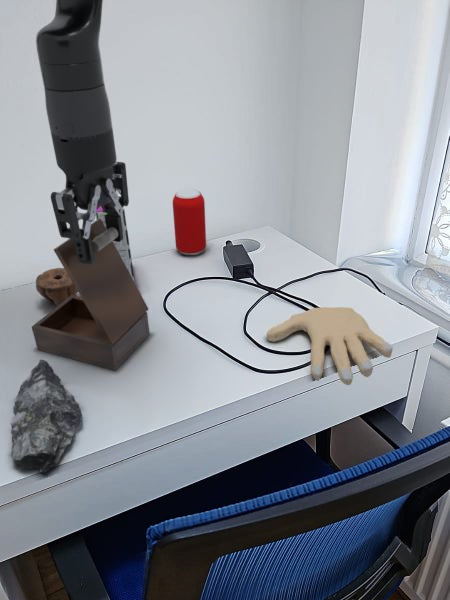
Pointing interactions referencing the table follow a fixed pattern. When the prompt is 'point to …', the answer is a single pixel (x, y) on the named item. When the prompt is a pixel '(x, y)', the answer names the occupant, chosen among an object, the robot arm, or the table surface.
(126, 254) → the candy bar box
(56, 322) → the brown wooden box
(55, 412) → the rock
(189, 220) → the beverage can
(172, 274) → the table surface
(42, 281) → the artifact
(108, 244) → the cover
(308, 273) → the table surface
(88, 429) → the table surface
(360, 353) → the hand model
